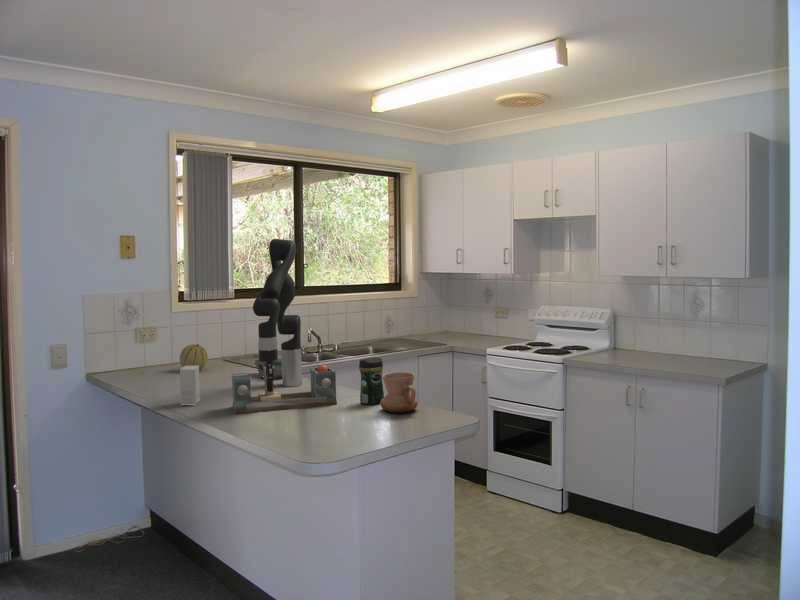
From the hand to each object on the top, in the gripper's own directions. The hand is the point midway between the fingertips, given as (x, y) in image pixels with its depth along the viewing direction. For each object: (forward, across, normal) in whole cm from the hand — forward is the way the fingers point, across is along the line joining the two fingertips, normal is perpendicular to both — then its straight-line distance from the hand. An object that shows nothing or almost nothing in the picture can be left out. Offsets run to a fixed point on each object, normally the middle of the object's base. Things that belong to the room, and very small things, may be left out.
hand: (269, 390), depth 257 cm
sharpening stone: (+7, -68, +10) cm, 69 cm away
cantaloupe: (+7, -104, -27) cm, 108 cm away
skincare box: (+7, -19, -30) cm, 36 cm away
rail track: (+7, 0, +6) cm, 9 cm away
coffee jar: (+7, +10, +40) cm, 42 cm away
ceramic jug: (+7, +28, +46) cm, 54 cm away
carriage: (+5, 0, 0) cm, 5 cm away
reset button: (-4, 0, +22) cm, 22 cm away
